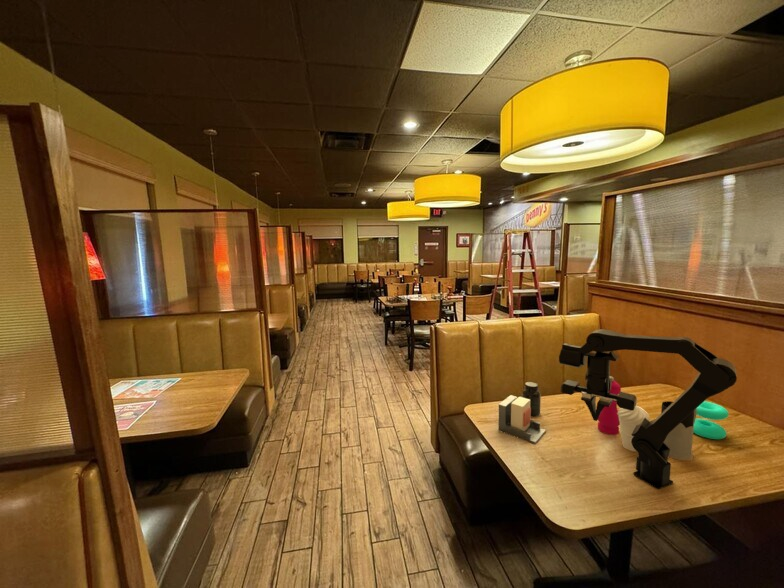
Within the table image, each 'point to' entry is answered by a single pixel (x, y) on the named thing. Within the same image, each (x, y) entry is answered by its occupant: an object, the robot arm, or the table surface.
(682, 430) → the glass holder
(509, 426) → the press stand
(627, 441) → the soft serve ice cream cone
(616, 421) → the pepper mill
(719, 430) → the donuts
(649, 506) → the table surface
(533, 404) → the supplement bottle
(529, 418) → the cream block orange label
